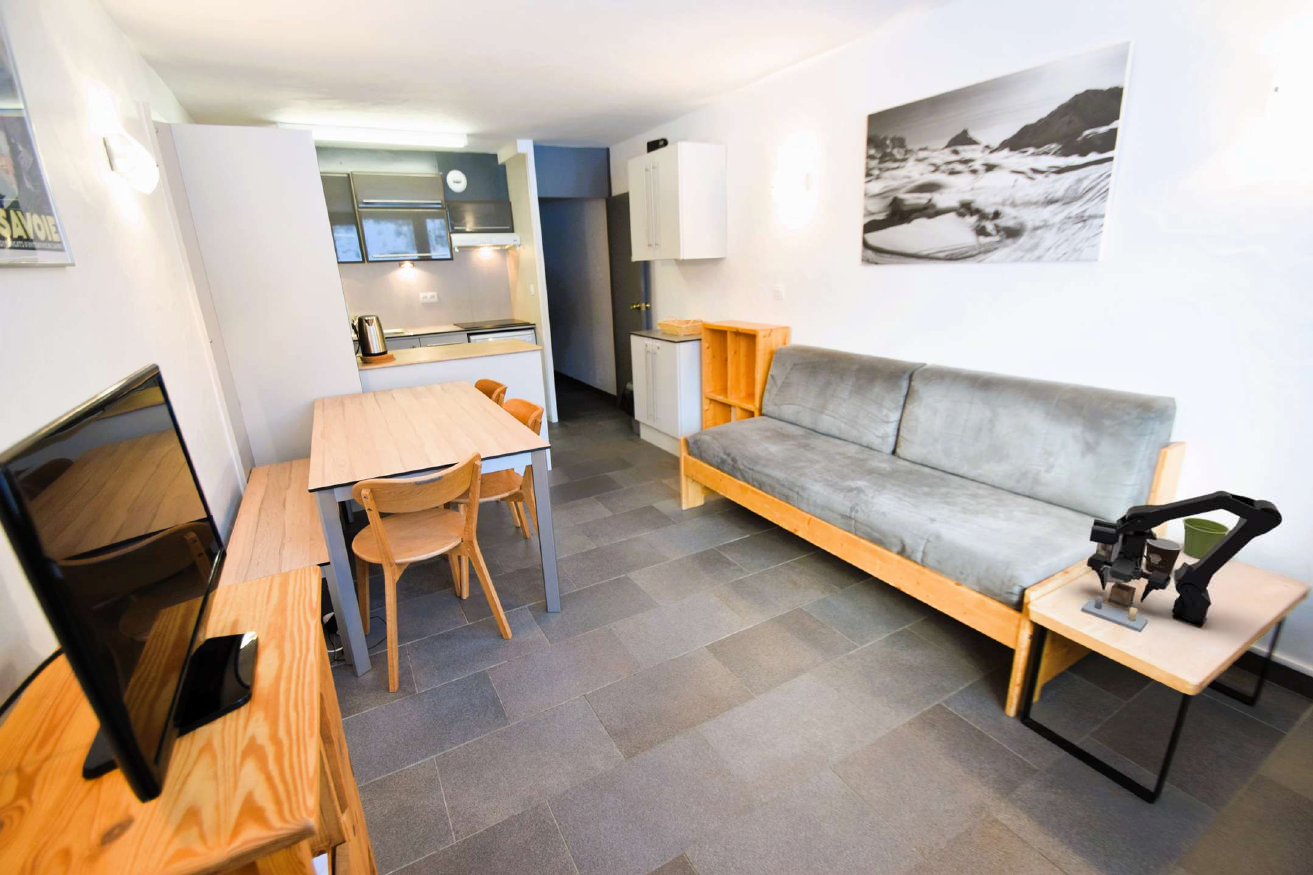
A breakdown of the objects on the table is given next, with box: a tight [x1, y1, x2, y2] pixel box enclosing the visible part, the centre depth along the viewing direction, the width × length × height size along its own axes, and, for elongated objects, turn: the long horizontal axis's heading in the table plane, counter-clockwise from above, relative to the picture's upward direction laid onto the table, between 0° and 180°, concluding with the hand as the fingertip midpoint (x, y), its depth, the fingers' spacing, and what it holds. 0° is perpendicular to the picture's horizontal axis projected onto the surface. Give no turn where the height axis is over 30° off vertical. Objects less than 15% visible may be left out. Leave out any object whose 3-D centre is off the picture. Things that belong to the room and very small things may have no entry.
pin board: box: [1080, 595, 1149, 633], centre depth 168 cm, size 14×7×4 cm, turn 38°
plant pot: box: [1182, 517, 1231, 560], centre depth 198 cm, size 12×12×11 cm
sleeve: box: [1107, 582, 1137, 609], centre depth 175 cm, size 5×5×5 cm
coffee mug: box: [1144, 537, 1183, 576], centre depth 191 cm, size 12×9×10 cm
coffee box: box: [1095, 534, 1128, 584], centre depth 188 cm, size 9×6×16 cm
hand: (1122, 595), depth 175 cm, fingers open, 9 cm apart
